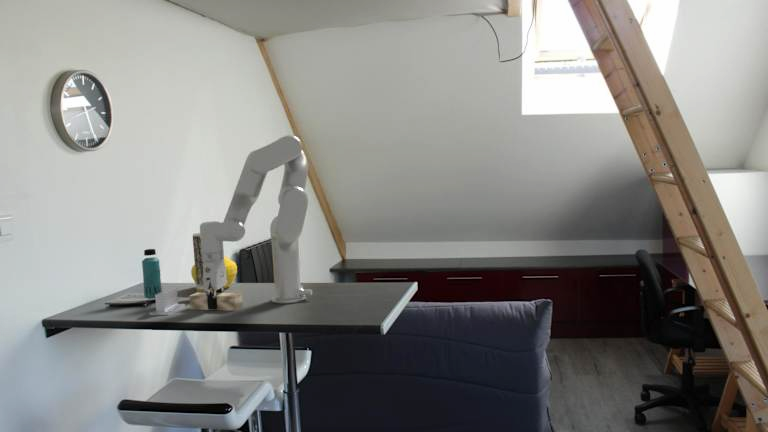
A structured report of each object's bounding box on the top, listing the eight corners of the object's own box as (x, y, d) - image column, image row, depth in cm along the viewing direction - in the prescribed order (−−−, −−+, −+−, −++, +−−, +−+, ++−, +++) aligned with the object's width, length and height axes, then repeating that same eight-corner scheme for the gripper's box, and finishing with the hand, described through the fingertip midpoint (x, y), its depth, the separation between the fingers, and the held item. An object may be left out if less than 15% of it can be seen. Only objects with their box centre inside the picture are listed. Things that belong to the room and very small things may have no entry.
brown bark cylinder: (210, 300, 222) (205, 234, 220) (194, 300, 223) (189, 235, 221) (218, 296, 228) (214, 232, 226) (202, 296, 230) (198, 232, 228)
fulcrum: (184, 306, 213) (183, 287, 213) (168, 315, 201) (167, 295, 201) (166, 306, 214) (165, 287, 214) (149, 315, 202) (148, 295, 202)
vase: (182, 292, 239) (179, 245, 238) (212, 282, 256) (209, 239, 254) (219, 294, 232) (215, 246, 230) (247, 284, 249) (244, 239, 247)
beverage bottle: (143, 303, 221) (139, 251, 220) (145, 299, 228) (141, 248, 226) (161, 301, 223) (157, 249, 221) (163, 298, 229) (159, 247, 228)
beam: (242, 307, 209) (241, 293, 208) (235, 310, 204) (234, 296, 203) (198, 305, 213) (197, 292, 213) (190, 309, 209) (189, 295, 208)
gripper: (213, 260, 198) (216, 313, 200) (232, 252, 215) (235, 301, 217) (191, 260, 199) (195, 313, 201) (212, 253, 216) (216, 301, 217)
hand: (216, 306), depth 209 cm, fingers closed on beam, 5 cm apart
